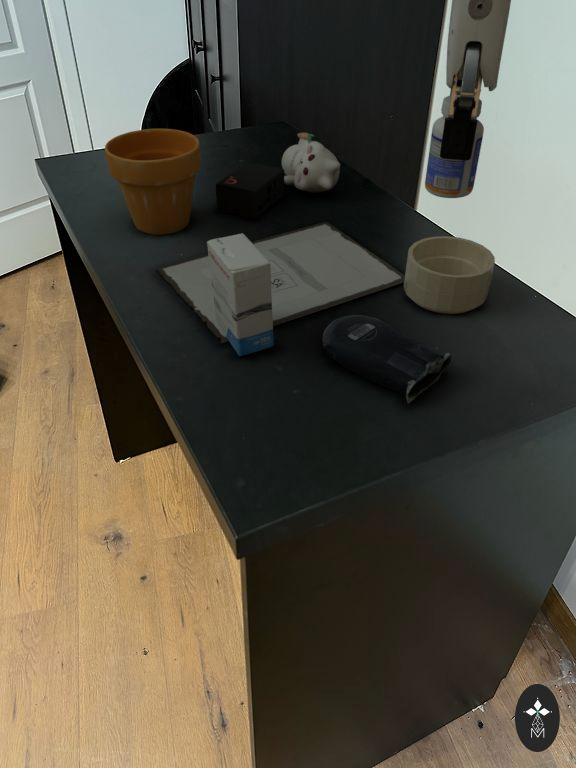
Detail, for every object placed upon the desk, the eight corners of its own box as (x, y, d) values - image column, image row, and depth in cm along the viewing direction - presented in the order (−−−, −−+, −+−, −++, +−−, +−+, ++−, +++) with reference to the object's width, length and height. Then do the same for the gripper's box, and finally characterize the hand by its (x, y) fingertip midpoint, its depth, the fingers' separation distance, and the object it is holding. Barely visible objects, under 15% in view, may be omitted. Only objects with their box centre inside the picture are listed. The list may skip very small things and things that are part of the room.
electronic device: (284, 196, 116) (284, 168, 112) (256, 220, 108) (255, 191, 105) (247, 189, 118) (246, 161, 115) (217, 211, 111) (215, 183, 107)
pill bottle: (452, 177, 77) (466, 89, 71) (482, 194, 73) (500, 103, 67) (414, 185, 75) (425, 96, 69) (443, 203, 71) (458, 110, 65)
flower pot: (219, 232, 105) (213, 151, 96) (132, 250, 100) (118, 166, 92) (189, 199, 115) (181, 123, 106) (109, 214, 110) (94, 136, 102)
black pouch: (450, 377, 78) (355, 315, 85) (460, 345, 74) (359, 282, 80) (402, 422, 74) (306, 353, 80) (410, 391, 70) (307, 321, 76)
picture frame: (221, 344, 81) (411, 280, 93) (221, 342, 81) (411, 278, 93) (154, 269, 95) (326, 222, 107) (154, 267, 95) (326, 220, 107)
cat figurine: (283, 123, 117) (330, 137, 107) (315, 140, 123) (364, 155, 112) (262, 174, 120) (307, 193, 109) (295, 189, 125) (341, 208, 114)
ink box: (275, 348, 80) (274, 262, 72) (236, 358, 78) (231, 272, 71) (248, 313, 86) (245, 230, 78) (212, 321, 84) (205, 238, 77)
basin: (485, 279, 93) (494, 240, 90) (486, 321, 85) (495, 281, 81) (407, 270, 95) (412, 232, 92) (399, 311, 87) (404, 271, 83)
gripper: (537, -38, 52) (492, 181, 64) (524, -60, 65) (489, 125, 77) (442, -41, 54) (415, 175, 65) (448, -62, 67) (424, 121, 78)
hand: (455, 146), depth 71 cm, fingers closed on pill bottle, 5 cm apart
